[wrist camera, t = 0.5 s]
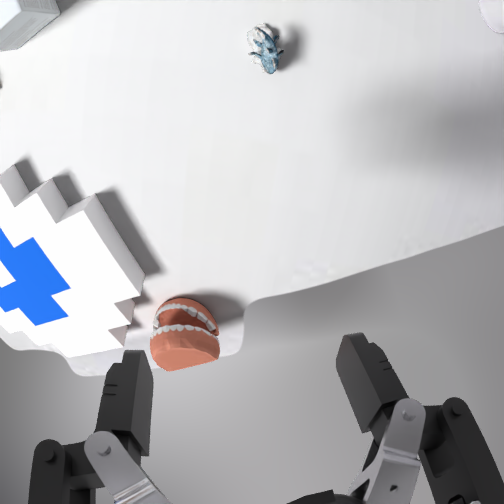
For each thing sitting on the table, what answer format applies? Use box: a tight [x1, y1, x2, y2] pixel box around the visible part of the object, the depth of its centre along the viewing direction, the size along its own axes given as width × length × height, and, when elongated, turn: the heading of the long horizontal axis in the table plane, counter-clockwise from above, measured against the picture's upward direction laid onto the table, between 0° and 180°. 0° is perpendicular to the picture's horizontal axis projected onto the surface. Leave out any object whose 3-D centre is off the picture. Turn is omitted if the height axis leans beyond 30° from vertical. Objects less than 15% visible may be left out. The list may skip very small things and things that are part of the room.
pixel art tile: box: [0, 165, 145, 357], centre depth 32 cm, size 28×4×28 cm
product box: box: [0, 0, 61, 51], centre depth 12 cm, size 6×6×7 cm
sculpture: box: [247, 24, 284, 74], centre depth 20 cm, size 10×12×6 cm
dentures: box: [150, 298, 220, 371], centre depth 37 cm, size 9×7×8 cm
